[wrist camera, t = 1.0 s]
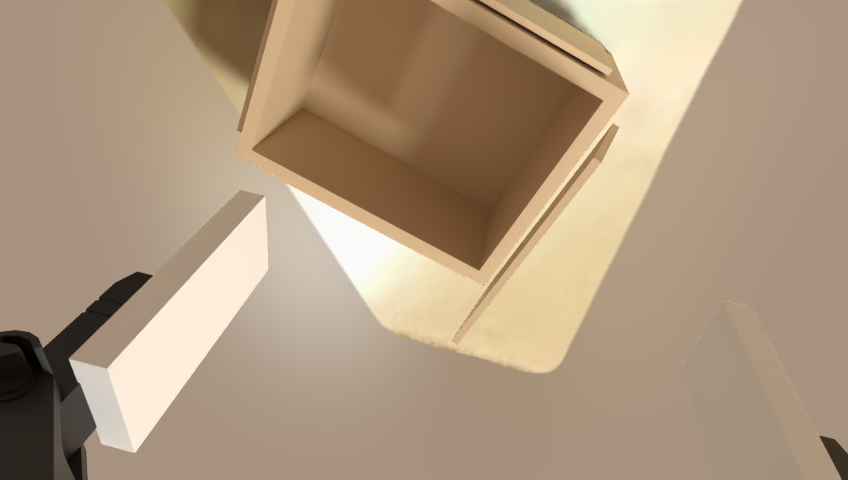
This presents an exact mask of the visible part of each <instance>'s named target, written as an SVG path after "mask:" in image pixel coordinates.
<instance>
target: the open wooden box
mask: <svg viewBox="0 0 848 480" xmlns="http://www.w3.org/2000/svg"><path fill="white" fill-rule="evenodd" d="M628 95H629V93H628V91H627V88H626V86H625V84H624V82H623V79H622V77H621V75H620V72H619V70H618V68H617V66H616V63H615V61H614V59H613V57H612V54H610V53H608V52H606V51H605V49H604V47H603V44H602V43H600V42H598V41H597V40H595V39H593V38H592V37H590V36H588V35H586V34H585V33H583V32H581V31H580V30H578V29H576V28H575V27H573V26H571V25H569V24H568V23H566V22H564V21H563V20H561V19H559V18H558V17H556V16H554V15H553V14H551V13H549V12H547V11H546V10H544V9H542V8H541V7H539V6H537V5H536V4H534V3H532V2H531V1H529V0H272V3H271V7H270V11H269V14H268V18H267V22H266V26H265V29H264V33H263V37H262V40H261V44H260V48H259V51H258V55H257V59H256V62H255V66H254V70H253V74H252V77H251V81H250V85H249V88H248V92H247V96H246V99H245V103H244V107H243V111H242V114H241V118H240V122H239V125H238V131H240V132H241V137H240V140H239V144H238V147H237V151H236V155H238V156H240V157H242V158H244V159H246V160H247V161H250V162H251V163H253V164H255V165H256V167H257V168H259V169H261V170H263V171H264V172H266V173H268V174H270V175H272V176H274V177H276V178H278V179H280V180H281V181H283V182H285V183H287V184H289V185H291V186H293V187H295V188H297V189H299V190H300V191H302V192H304V193H306V194H308V195H310V196H312V197H314V198H316V199H317V200H319V201H321V202H323V203H325V204H327V205H329V206H331V207H333V208H335V209H336V210H338V211H340V212H342V213H344V214H346V215H348V216H350V217H352V218H353V219H355V220H357V221H359V222H361V223H363V224H365V225H367V226H369V227H370V228H372V229H374V230H376V231H378V232H380V233H382V234H384V235H386V236H388V237H389V238H391V239H393V240H395V241H397V242H399V243H401V244H403V245H405V246H406V247H408V248H410V249H412V250H414V251H416V252H418V253H420V254H422V255H424V256H425V257H427V258H429V259H431V260H433V261H435V262H437V263H439V264H441V265H442V266H444V267H446V268H448V269H450V270H452V271H454V272H456V273H458V274H460V275H461V276H463V277H465V276H467V277H469V278H471V279H473V280H475V281H476V282H478V283H480V284H482V285H485V284H486V282H487V281H488V280H489V278H490V277H491V276H492V274H493V273H494V272H495V270H496V269H497V268H498V267H499V265H500V264H501V263H502V261H503V260H504V259H505V257H506V256H507V255H508V253H509V252H510V251H511V249H512V248H513V247H514V245H515V244H516V243H517V241H518V240H519V239H520V238H521V236H522V235H523V234H524V232H525V231H526V230H527V228H528V227H529V226H530V224H531V223H532V222H533V220H534V219H535V218H536V216H537V215H538V214H539V212H540V211H541V210H542V209H543V207H544V206H545V205H546V203H547V202H548V201H549V199H550V198H551V197H552V195H553V194H554V193H555V191H556V190H557V189H558V187H559V186H560V185H561V183H562V182H563V181H564V180H565V178H566V177H567V176H568V174H569V173H570V172H571V170H572V169H573V168H574V166H575V165H576V164H577V162H578V161H579V160H580V158H581V157H582V156H583V154H584V153H585V152H586V151H587V149H588V148H589V147H590V145H591V144H592V143H593V141H594V140H595V139H596V137H597V136H598V135H599V133H600V132H601V131H602V129H603V128H604V127H605V125H606V124H607V123H608V122H609V120H610V119H611V118H612V116H613V115H614V114H615V112H616V111H617V110H618V108H619V107H620V106H621V104H622V103H623V102H624V100H625V99H626V98H627V96H628Z"/></svg>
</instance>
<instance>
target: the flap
mask: <svg viewBox="0 0 848 480" xmlns="http://www.w3.org/2000/svg"><path fill="white" fill-rule="evenodd" d="M618 129H619V127H618V126H616V125H615V124H612V126H611V127H610V128H609V130H608V131H607V132H606V133H605V135H604V136H603V137H602V139H601V140H600V141H599V143H598V144H597V145H596V147H595V148H594V149H593V150H592V152H591V153H590V154H589V156H588V157H587V158H586V160H585V161H584V162H583V163H582V165H581V166H580V167H579V169H578V170H577V171H576V173H575V174H574V175H573V177H572V178H571V179H570V180H569V182H568V183H567V184H566V186H565V187H564V188H563V190H562V191H561V192H560V193H559V195H558V196H557V197H556V199H555V200H554V201H553V203H552V204H551V205H550V207H549V208H548V209H547V210H546V212H545V213H544V214H543V216H542V217H541V218H540V220H539V221H538V222H537V223H536V225H535V226H534V227H533V229H532V230H531V231H530V233H529V234H528V235H527V237H526V238H525V239H524V240H523V242H522V243H521V244H520V246H519V247H518V248H517V250H516V251H515V252H514V253H513V255H512V256H511V257H510V259H509V260H508V261H507V263H506V264H505V265H504V266H503V268H502V269H501V270H500V272H499V273H498V274H497V276H496V277H495V278H494V280H493V281H492V282H491V283H490V285H489V286H488V288H487V289H486V291H485V292H484V294H483V295H482V297H481V298H480V300H479V301H478V303H477V304H476V305H475V307H474V308H473V310H472V311H471V313H470V314H469V316H468V317H467V319H466V320H465V322H464V323H463V325H462V326H461V328H460V329H459V331H458V332H457V333H456V335H455V336H454V338H453V339H452V342H454V343H455V344H456V345H457V344H458V343H459V341H460V340H461V339H462V338H463V336H464V335H465V334H466V333H467V331H468V330H469V329H470V328H471V326H472V325H473V324H474V322H475V321H476V320H477V319H478V317H479V316H480V315H481V314H482V312H483V311H484V310H485V309H486V307H487V306H488V305H489V304H490V302H491V301H492V300H493V298H494V297H495V296H496V295H497V293H498V292H499V291H500V290H501V288H502V287H503V286H504V285H505V283H506V282H507V281H508V280H509V278H510V277H511V276H512V275H513V273H514V272H515V271H516V269H517V268H518V267H519V266H520V264H521V263H522V262H523V261H524V259H525V258H526V257H527V256H528V254H529V253H530V252H531V251H532V249H533V248H534V247H535V245H536V244H537V243H538V242H539V240H540V239H541V238H542V237H543V235H544V234H545V233H546V232H547V230H548V229H549V228H550V227H551V225H552V224H553V223H554V221H555V220H556V219H557V218H558V216H559V215H560V214H561V213H562V211H563V210H564V209H565V208H566V206H567V205H568V204H569V203H570V201H571V200H572V199H573V197H574V196H575V195H576V194H577V192H578V191H579V190H580V189H581V187H582V186H583V185H584V184H585V182H586V181H587V180H588V179H589V177H590V176H591V175H592V173H593V172H594V171H595V170H596V168H597V167H598V166H599V165H600V163H601V162H602V160H603V158H604V156H605V154H606V152H607V150H608V148H609V146H610V144H611V142H612V140H613V138H614V136H615V134H616V132H617V130H618Z"/></svg>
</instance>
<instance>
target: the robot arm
mask: <svg viewBox="0 0 848 480" xmlns="http://www.w3.org/2000/svg"><path fill="white" fill-rule="evenodd" d="M265 206H266V204H265V196H264V195H259V194H255V193H250V192H245V191H242V190H241V191H239V192H238V193H237V194H236V195H235V196H234V197H233V198H232V199H231V200H230V201H229V202H228V203H227V204H226V205H225V206H224V207H223V208H222V209H221V210H220V211H219V212H218V213H217V214H215V216H213V217H212V218H211V219H210V221H209V222H207V223H206V224H205V225H204V226H203V227H202V228H201V229H200V230H199V231H198V232H197V233H196V234H195V235H194V236H193V237H192V238H191V239H190V240H189V241H188V242H187V243H186V244H185V245H184V246H183V247H182V248H181V249H180V250H179V251H178V252H177V253H176V254H175V255H174V256H173V257H172V258H171V259H170V260H169V261H168V262H167V263H166V264H165V265H164V266H163V267H161V268H160V270H158V272H156V273H155V275H149V274H144V273H140V272H136V273H134V274H132V275H130V276H128V277H126V278H124V279H122V280H120V281H118V282H116V283H114V284H113V285H112V286H111V287H110V288H109V289H108V290H107V291H106V292H105V293H103V294H102V295H101V296H100V297H99V300H98V301H97V300H96V301H95V302H94V303H92V304H91V305H90V306H89V307H88V308H87V309H86V312H85V313H81V314H80V315H79V316H78V317H77V318H76V319H75V320H74V321H73V322H72V323H70V324H69V325H68V326H67V327H66V328H65V329H64V330H63V331H62V332H61V333H60V334H58V335H57V336H56V337H55V338H54V339H53V340H52V341H51V342H50V343H49V344H47V345H46V346H45V347H44V348H42V345H41V343H40V341H39V338H38V337H36V336H35V335H33V334H31V333H30V332H25V331H17V330H13V331H4V332H0V480H88V477H87V458H86V449H85V447H84V444H83V443H84V442H85V441H86V440H87V438H88V437H89V436H90V435H91V434H92V432H93V431H94V430H95V429H96V430H97V433H98V435H99V438H100V440H101V443H102V444H104V445H107V446H111V447H115V448H118V449H122V450H126V451H130V452H133V453H135V452H136V451H137V449H138V448H139V447H140V445H141V444H142V442H143V441H144V440H145V438H146V437H147V435H148V434H149V433H150V431H151V430H152V429H153V427H154V426H155V424H156V423H157V422H158V420H159V419H160V418H161V416H162V415H163V414H164V412H165V411H166V409H167V408H168V407H169V405H170V404H171V403H172V401H173V399H174V398H175V397H176V395H177V394H178V393H179V391H180V390H181V389H182V387H183V386H184V385H185V383H186V382H187V380H188V379H189V378H190V376H191V375H192V373H193V372H194V371H195V369H196V368H197V366H198V365H199V364H200V363H201V361H202V360H203V358H204V357H205V356H206V354H207V353H208V351H209V350H210V349H211V347H212V346H213V345H214V343H215V342H216V340H217V339H218V338H219V336H220V335H221V334H222V332H223V331H224V330H225V328H226V327H227V325H228V324H229V323H230V321H231V320H232V319H233V317H234V316H235V314H236V313H237V312H238V310H239V309H240V308H241V306H242V305H243V303H244V302H245V301H246V299H247V298H248V297H249V295H250V294H251V292H252V291H253V290H254V288H255V287H256V286H257V284H258V283H259V281H260V280H261V279H262V277H263V276H264V275H265V273H266V272H267V270H268V248H267V226H266V207H265ZM680 370H681V373H682V377H683V380H684V383H685V387H686V390H687V394H688V397H689V400H690V404H691V407H692V410H693V413H694V417H695V420H696V424H697V427H698V430H699V434H700V437H701V440H702V444H703V447H704V450H705V454H706V457H707V461H708V464H709V467H710V471H711V474H712V477H713V480H848V454H847V452H846V451H845V450H844V449H843V448H842V447H841V446H840V445H839V444H838V443H837V441H836V440H835V439H831V438H827V437H823V436H819V435H818V433H817V431H816V429H815V427H814V425H813V424H812V421H811V419H810V417H809V416H808V414H807V412H806V410H805V408H804V406H803V404H802V402H801V400H800V398H799V396H798V395H797V393H796V391H795V389H794V387H793V385H792V383H791V381H790V379H789V377H788V375H787V373H786V371H785V369H784V367H783V365H782V363H781V362H780V360H779V358H778V356H777V354H776V352H775V350H774V348H773V346H772V344H771V342H770V340H769V338H768V337H767V335H766V333H765V331H764V329H763V327H762V325H761V323H760V321H759V319H758V317H757V315H756V313H755V312H754V310H753V308H752V306H748V305H745V304H740V303H736V302H731V301H727V300H723V301H722V302H721V304H720V305H719V307H718V309H717V310H716V311H715V313H714V315H713V316H712V317H711V319H710V320H709V322H708V324H707V325H706V327H705V328H704V330H703V331H702V333H701V334H700V336H699V337H698V339H697V340H696V342H695V343H694V345H693V346H692V348H691V350H690V351H689V353H688V354H687V356H686V357H685V359H684V360H683V362H682V363H681V365H680Z"/></svg>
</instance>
